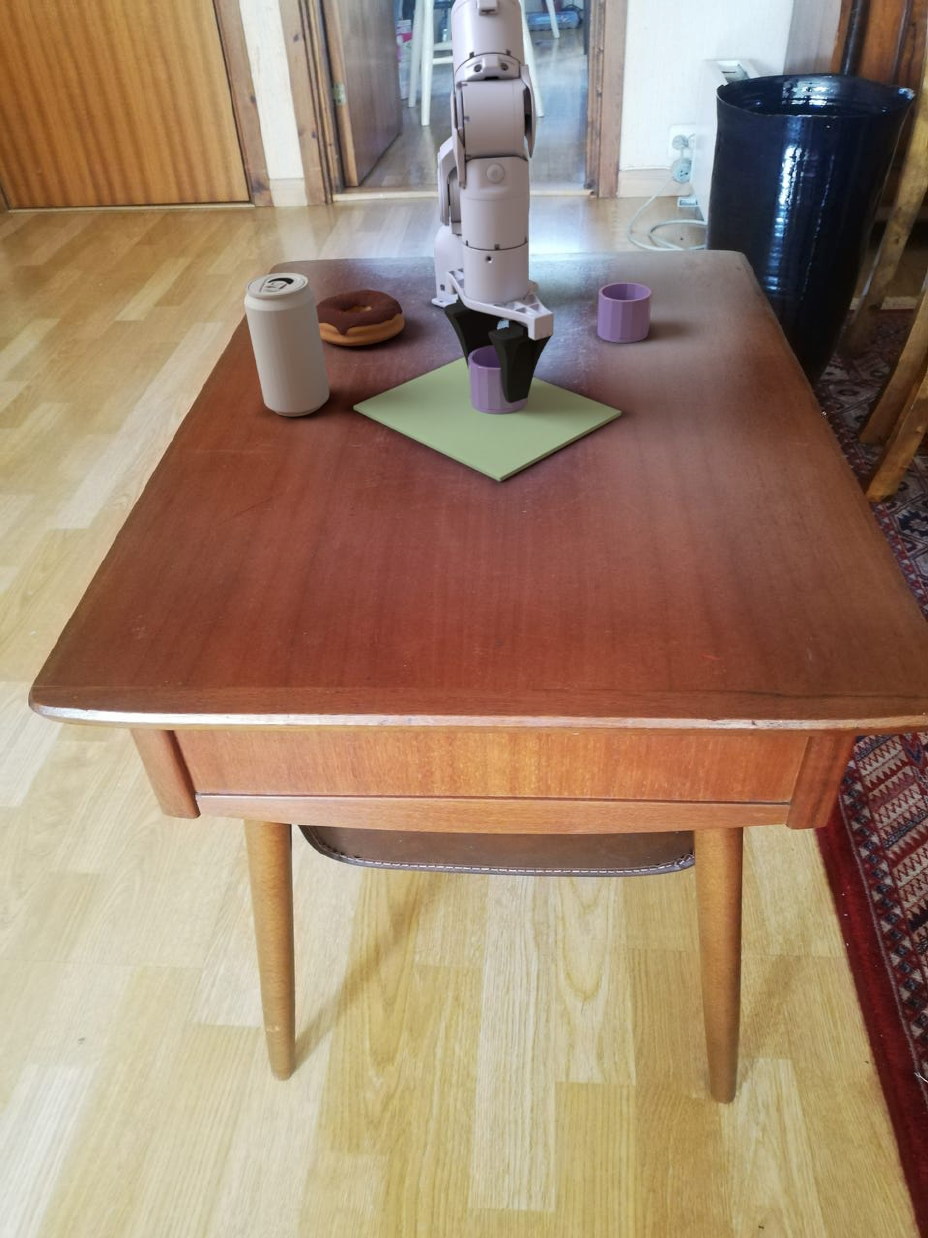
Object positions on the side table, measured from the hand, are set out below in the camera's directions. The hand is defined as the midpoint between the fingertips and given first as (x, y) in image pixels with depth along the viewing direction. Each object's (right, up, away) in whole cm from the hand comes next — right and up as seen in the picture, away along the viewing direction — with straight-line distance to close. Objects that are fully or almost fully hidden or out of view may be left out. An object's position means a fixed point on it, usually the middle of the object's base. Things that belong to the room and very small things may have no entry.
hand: (499, 387), depth 88 cm
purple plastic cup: (0, -1, +1) cm, 1 cm away
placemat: (-1, -2, 0) cm, 3 cm away
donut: (-15, +10, +16) cm, 24 cm away
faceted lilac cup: (+14, +9, +13) cm, 21 cm away
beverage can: (-20, -1, +3) cm, 20 cm away
